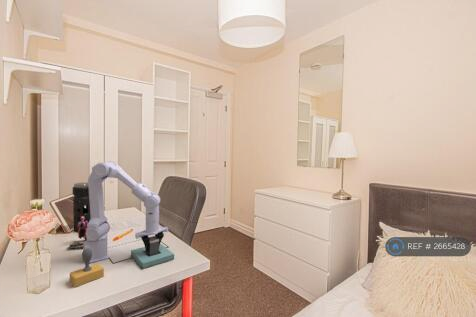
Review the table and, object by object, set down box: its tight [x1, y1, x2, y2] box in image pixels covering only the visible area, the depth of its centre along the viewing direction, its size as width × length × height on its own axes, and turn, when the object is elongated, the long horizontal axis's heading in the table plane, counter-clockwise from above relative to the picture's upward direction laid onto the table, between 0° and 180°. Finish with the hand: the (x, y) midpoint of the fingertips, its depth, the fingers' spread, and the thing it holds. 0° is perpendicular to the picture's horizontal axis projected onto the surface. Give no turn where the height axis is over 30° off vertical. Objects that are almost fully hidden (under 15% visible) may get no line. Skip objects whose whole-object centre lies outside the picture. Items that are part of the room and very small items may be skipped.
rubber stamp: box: [69, 248, 105, 288], centre depth 91 cm, size 10×6×12 cm, turn 140°
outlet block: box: [130, 243, 175, 270], centre depth 110 cm, size 14×16×2 cm
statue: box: [66, 216, 88, 250], centre depth 121 cm, size 11×9×15 cm
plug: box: [146, 235, 159, 256], centre depth 109 cm, size 4×5×7 cm
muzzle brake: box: [72, 182, 91, 234], centre depth 142 cm, size 10×28×10 cm
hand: (152, 250), depth 110 cm, fingers closed on plug, 4 cm apart
